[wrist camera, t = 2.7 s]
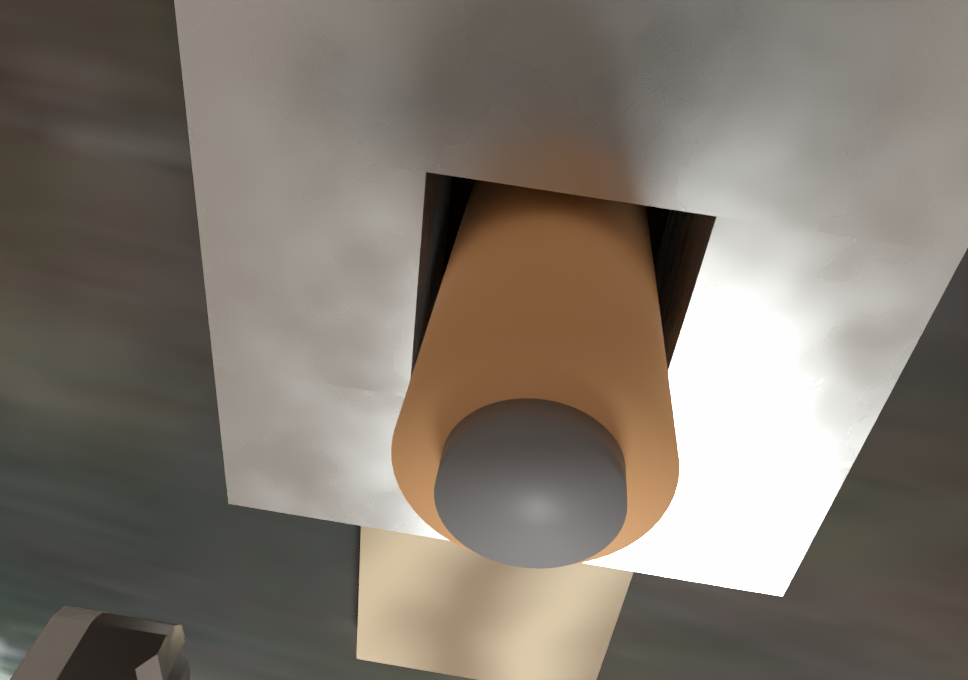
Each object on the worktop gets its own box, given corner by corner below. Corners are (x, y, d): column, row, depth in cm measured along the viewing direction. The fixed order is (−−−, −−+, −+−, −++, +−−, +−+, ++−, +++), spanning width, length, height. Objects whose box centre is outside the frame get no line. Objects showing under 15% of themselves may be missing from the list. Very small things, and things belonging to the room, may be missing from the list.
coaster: (642, 519, 28) (644, 540, 27) (589, 677, 33) (589, 699, 33) (368, 473, 28) (361, 493, 27) (362, 638, 34) (356, 658, 33)
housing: (980, -55, 17) (1104, -13, 13) (752, 472, 26) (782, 596, 22) (260, -157, 17) (158, -148, 13) (284, 396, 26) (228, 503, 22)
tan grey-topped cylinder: (666, 149, 20) (723, 413, 11) (624, 309, 23) (644, 621, 14) (477, 119, 20) (386, 359, 11) (458, 282, 23) (375, 575, 14)
